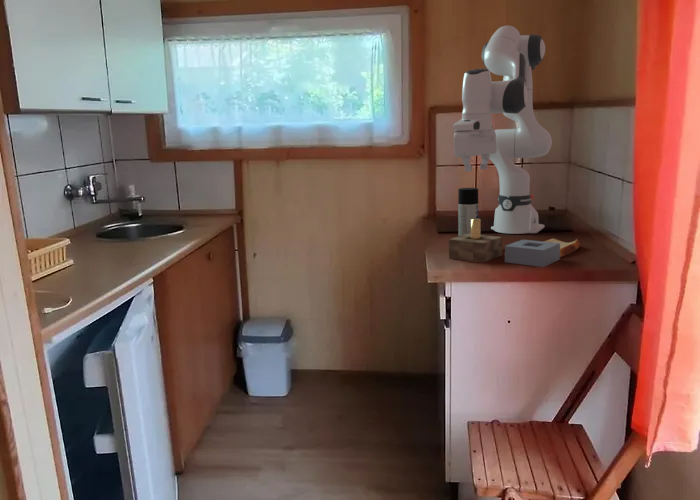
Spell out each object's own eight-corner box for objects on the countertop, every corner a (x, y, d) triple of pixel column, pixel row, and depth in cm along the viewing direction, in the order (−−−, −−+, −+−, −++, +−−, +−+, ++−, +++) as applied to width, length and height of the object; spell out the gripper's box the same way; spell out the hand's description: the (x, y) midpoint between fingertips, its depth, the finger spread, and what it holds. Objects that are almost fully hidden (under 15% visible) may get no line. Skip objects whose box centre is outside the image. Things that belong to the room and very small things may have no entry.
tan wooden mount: (468, 251, 191) (468, 233, 190) (501, 255, 183) (502, 236, 182) (448, 258, 182) (448, 239, 181) (483, 262, 174) (483, 243, 173)
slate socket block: (522, 254, 183) (522, 239, 182) (559, 259, 175) (560, 243, 174) (504, 262, 174) (505, 245, 173) (543, 267, 166) (543, 250, 165)
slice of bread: (546, 259, 177) (547, 247, 176) (520, 248, 195) (521, 237, 194) (600, 255, 180) (601, 244, 179) (570, 245, 197) (570, 234, 196)
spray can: (478, 248, 195) (478, 189, 191) (457, 248, 196) (458, 189, 192) (478, 244, 201) (478, 187, 197) (458, 244, 203) (458, 187, 198)
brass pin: (473, 255, 185) (473, 218, 182) (481, 256, 183) (482, 219, 180) (468, 257, 182) (469, 219, 180) (477, 258, 181) (477, 220, 178)
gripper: (483, 124, 184) (483, 168, 187) (449, 125, 169) (449, 172, 172) (502, 123, 180) (501, 168, 183) (469, 124, 165) (468, 173, 168)
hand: (476, 170), depth 177 cm, fingers open, 8 cm apart
